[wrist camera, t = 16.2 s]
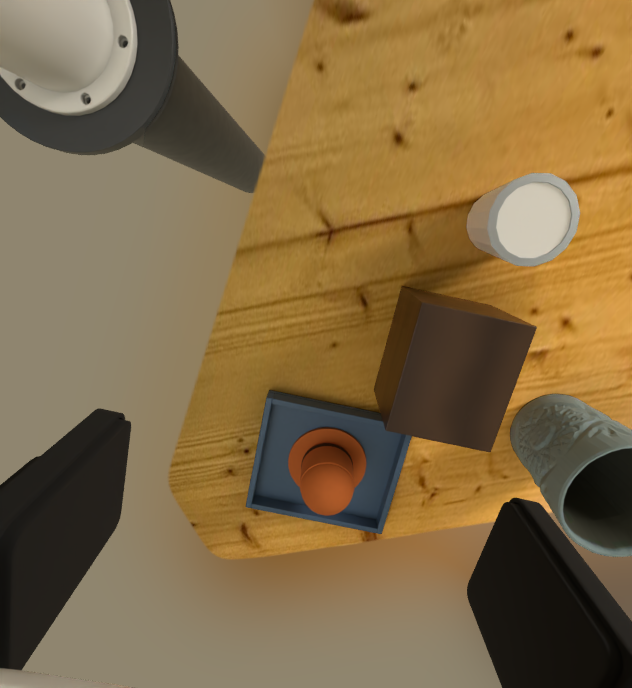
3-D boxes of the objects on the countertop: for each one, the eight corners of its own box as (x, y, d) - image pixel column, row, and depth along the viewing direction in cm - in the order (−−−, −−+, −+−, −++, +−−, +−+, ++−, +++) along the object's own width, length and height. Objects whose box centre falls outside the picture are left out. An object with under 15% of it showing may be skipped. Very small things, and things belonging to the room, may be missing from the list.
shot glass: (456, 189, 37) (485, 181, 30) (534, 175, 36) (581, 164, 30) (462, 265, 39) (490, 273, 32) (536, 253, 38) (580, 259, 32)
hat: (282, 487, 45) (273, 532, 39) (296, 419, 43) (290, 455, 36) (355, 502, 46) (360, 549, 39) (374, 435, 43) (382, 474, 37)
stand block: (373, 389, 42) (385, 431, 34) (401, 286, 39) (422, 302, 31) (457, 407, 43) (490, 452, 34) (491, 305, 40) (537, 327, 31)
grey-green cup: (602, 460, 44) (700, 544, 32) (507, 482, 45) (569, 569, 33) (592, 375, 41) (694, 432, 30) (491, 399, 42) (553, 464, 31)
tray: (248, 495, 46) (245, 507, 44) (269, 389, 43) (266, 397, 41) (379, 521, 47) (381, 534, 45) (410, 419, 43) (414, 428, 41)
